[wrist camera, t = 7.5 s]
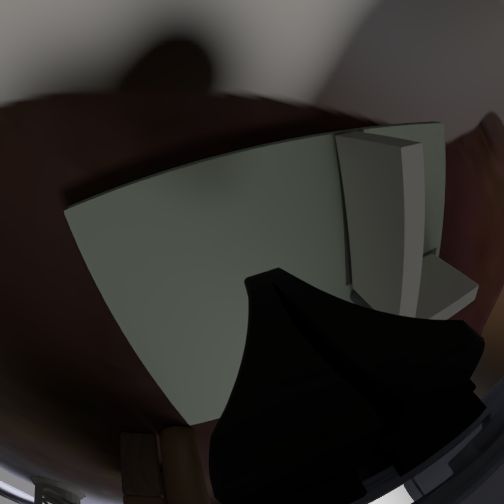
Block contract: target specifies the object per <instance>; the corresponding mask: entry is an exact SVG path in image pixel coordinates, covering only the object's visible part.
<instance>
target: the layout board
mask: <svg viewBox="0 0 504 504" xmlns="http://www.w3.org/2000/svg"><path fill="white" fill-rule="evenodd" d="M355 131H356V132H363V133H370V134H377V135H383V136H389V137H395V138H401V139H406V140H411V141H416V142H421V143H422V144H423V157H424V177H425V225H424V245H423V257H425V256H427V255H429V254H432V253H433V254H434V255H436V256H437V257H439V251H440V244H441V235H442V226H443V215H444V200H445V131H444V123H441V122H419V123H404V124H391V125H381V126H371V127H363V128H354V129H347V130H340V131H333V132H326V133H320V134H314V135H308V136H303V137H297V138H292V139H287V140H282V141H277V142H272V143H267V144H262V145H258V146H253V147H249V148H245V149H241V150H237V151H232V152H228V153H224V154H221V155H217V156H213V157H209V158H206V159H202V160H198V161H195V162H191V163H188V164H185V165H181V166H178V167H175V168H171V169H168V170H165V171H162V172H159V173H156V174H153V175H150V176H147V177H144V178H141V179H138V180H135V181H132V182H129V183H126V184H124V185H121V186H118V187H115V188H113V189H110V190H107V191H105V192H102V193H100V194H97V195H95V196H92V197H90V198H87V199H85V200H82V201H80V202H77V203H75V204H73V205H70V206H68V207H67V208H66V209H65V210H64V214H65V216H66V219H67V221H68V224H69V226H70V229H71V231H72V233H73V236H74V238H75V240H76V243H77V245H78V247H79V250H80V252H81V254H82V256H83V258H84V260H85V263H86V265H87V267H88V269H89V271H90V273H91V275H92V277H93V279H94V281H95V283H96V285H97V287H98V289H99V291H100V292H101V294H102V296H103V298H104V300H105V302H106V304H107V305H108V307H109V309H110V311H111V313H112V314H113V316H114V318H115V320H116V321H117V323H118V325H119V326H120V328H121V330H122V331H123V333H124V335H125V336H126V338H127V339H128V341H129V343H130V344H131V346H132V347H133V349H134V351H135V352H136V354H137V355H138V357H139V358H140V360H141V361H142V363H143V364H144V366H145V367H146V369H147V370H148V371H149V373H150V374H151V376H152V377H153V379H154V380H155V381H156V383H157V384H158V386H159V387H160V388H161V390H162V391H163V392H164V394H165V395H166V396H167V398H168V399H169V400H170V402H171V403H172V404H173V405H174V407H175V408H176V409H177V411H178V412H179V413H180V414H181V416H182V417H183V418H184V419H185V420H186V422H187V423H188V424H189V425H193V424H198V423H202V422H206V421H210V420H214V419H217V418H220V417H221V415H222V413H223V411H224V409H225V407H226V404H227V402H228V399H229V397H230V394H231V391H232V389H233V386H234V384H235V381H236V378H237V375H238V371H239V368H240V364H241V360H242V356H243V352H244V347H245V342H246V335H247V326H248V295H247V291H246V287H245V283H244V280H245V279H246V278H247V277H250V276H253V275H256V274H259V273H262V272H266V271H269V270H272V269H275V268H278V267H279V268H281V269H283V270H285V271H287V272H288V273H290V274H292V275H294V276H295V277H297V278H299V279H301V280H303V281H304V282H306V283H308V284H310V285H312V286H314V287H316V288H318V289H320V290H322V291H324V292H327V293H329V294H331V295H333V296H336V297H338V298H341V299H343V300H346V301H348V302H351V303H353V302H352V300H351V299H350V294H351V292H352V290H353V285H352V268H351V255H350V242H349V232H348V222H347V213H346V204H345V196H344V189H343V182H342V175H341V168H340V162H339V156H338V150H337V144H336V138H335V135H340V134H345V133H350V132H355Z"/></svg>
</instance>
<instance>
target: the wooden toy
mask: <svg viewBox="0 0 504 504" xmlns="http://www.w3.org/2000/svg"><path fill="white" fill-rule="evenodd" d="M159 438H160V448H161V457H162V465H163V472H160V468H159V460H158V450H157V440H156V435H155V434H152V433H133V432H121V434H120V446H121V477H122V492H123V494H124V496H123V503H124V504H211V503H210V499H209V495H208V491H207V487H206V482H205V478H204V474H203V469H202V465H201V460H200V455H199V450H198V445H197V440H196V435H195V432H194V431H193V430H192V429H191V428H189V427H186V426H178V425H177V426H169V427H166V428H164V429H163V430H161V432H160V435H159Z"/></svg>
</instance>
